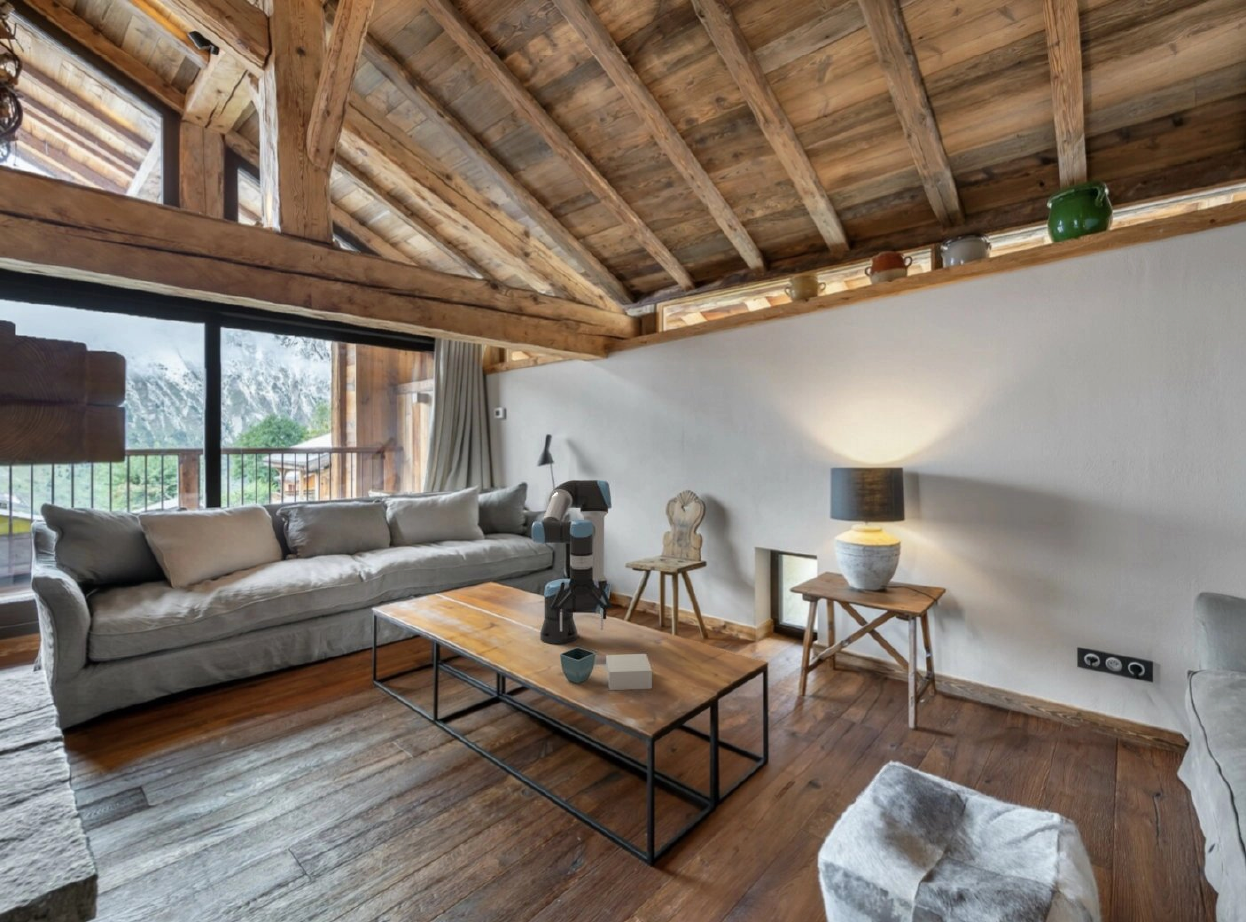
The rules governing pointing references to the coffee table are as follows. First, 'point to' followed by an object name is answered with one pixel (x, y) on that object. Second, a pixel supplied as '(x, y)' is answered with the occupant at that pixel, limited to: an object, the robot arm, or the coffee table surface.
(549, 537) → the robot arm
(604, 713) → the coffee table surface
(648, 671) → the stone slab
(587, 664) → the flower pot
